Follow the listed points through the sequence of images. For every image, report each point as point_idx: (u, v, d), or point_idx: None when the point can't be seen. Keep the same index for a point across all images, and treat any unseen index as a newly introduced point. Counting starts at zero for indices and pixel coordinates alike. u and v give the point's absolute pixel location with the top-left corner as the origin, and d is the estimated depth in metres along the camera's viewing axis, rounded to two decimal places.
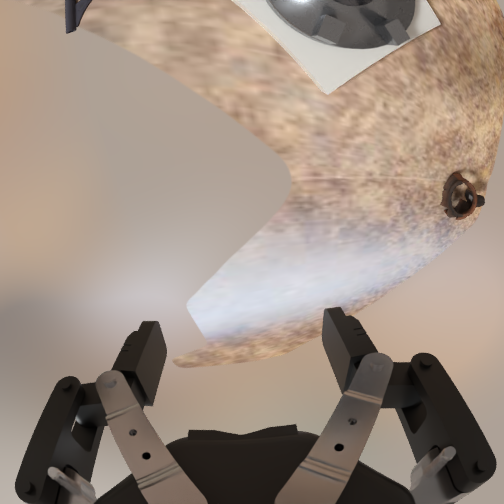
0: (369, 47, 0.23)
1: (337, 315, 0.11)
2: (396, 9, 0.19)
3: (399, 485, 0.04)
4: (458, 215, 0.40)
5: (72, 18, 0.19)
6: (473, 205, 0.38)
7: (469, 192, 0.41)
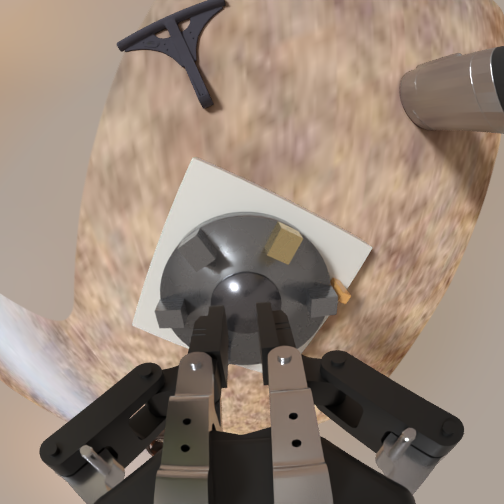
0: (188, 345, 0.33)
1: (263, 309, 0.12)
2: (249, 350, 0.34)
3: (399, 484, 0.04)
4: (148, 451, 0.43)
5: (133, 40, 0.23)
6: None
7: None
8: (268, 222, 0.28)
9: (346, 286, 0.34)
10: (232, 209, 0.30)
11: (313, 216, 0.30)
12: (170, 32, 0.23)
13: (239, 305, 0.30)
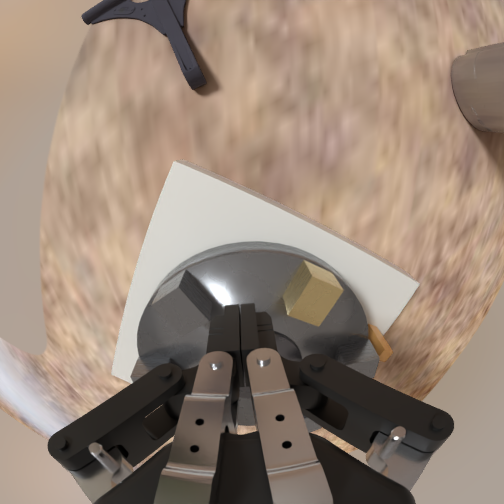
0: None
1: (247, 310, 0.12)
2: None
3: (400, 484, 0.04)
4: None
5: (102, 9, 0.14)
6: None
7: None
8: (290, 262, 0.18)
9: (383, 332, 0.24)
10: (234, 237, 0.20)
11: (350, 246, 0.21)
12: None
13: None
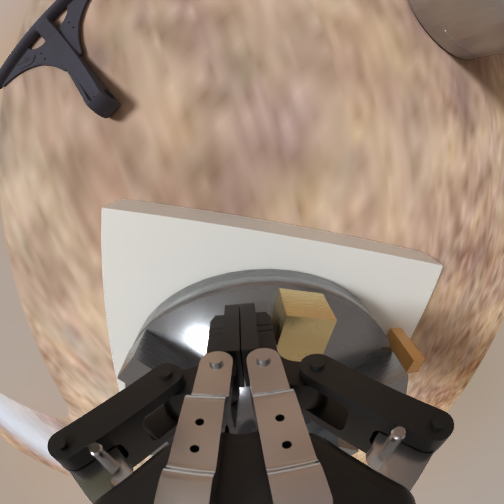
0: None
1: (247, 310, 0.12)
2: None
3: (399, 485, 0.04)
4: None
5: (7, 68, 0.11)
6: None
7: None
8: (262, 295, 0.14)
9: (411, 332, 0.19)
10: (195, 276, 0.16)
11: (343, 248, 0.16)
12: (43, 35, 0.11)
13: (252, 416, 0.17)
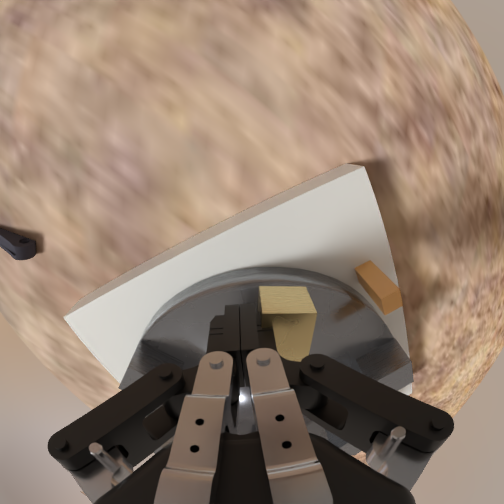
0: None
1: (247, 310, 0.12)
2: None
3: (399, 484, 0.04)
4: None
5: None
6: None
7: None
8: (243, 295, 0.14)
9: (387, 255, 0.16)
10: (140, 327, 0.18)
11: (223, 234, 0.16)
12: None
13: None
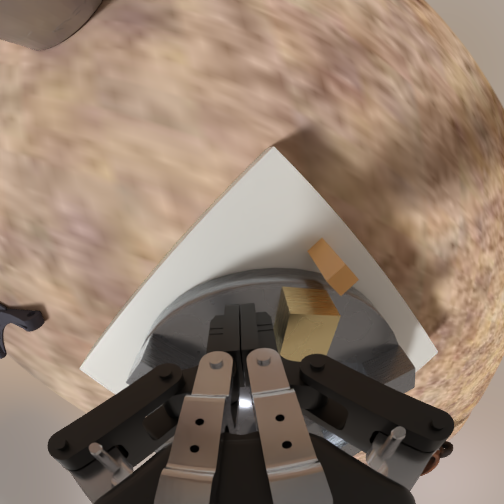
0: None
1: (247, 310, 0.12)
2: None
3: (399, 484, 0.04)
4: None
5: None
6: (433, 465, 0.29)
7: None
8: (265, 294, 0.14)
9: (341, 226, 0.16)
10: None
11: (167, 262, 0.16)
12: None
13: None
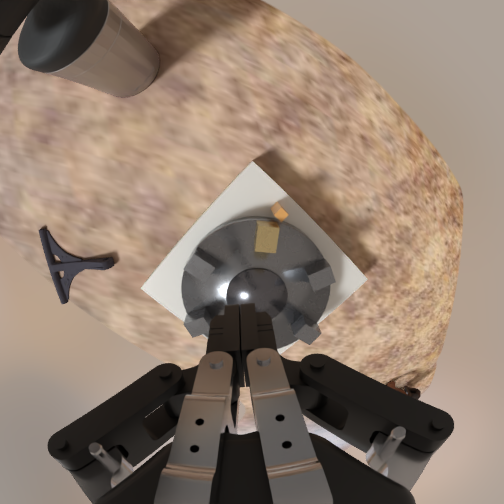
0: None
1: (247, 310, 0.12)
2: (275, 335, 0.38)
3: (399, 485, 0.04)
4: None
5: (62, 293, 0.41)
6: None
7: (406, 389, 0.51)
8: (249, 224, 0.32)
9: (286, 196, 0.34)
10: (182, 275, 0.37)
11: (204, 214, 0.34)
12: (60, 270, 0.39)
13: (251, 299, 0.35)
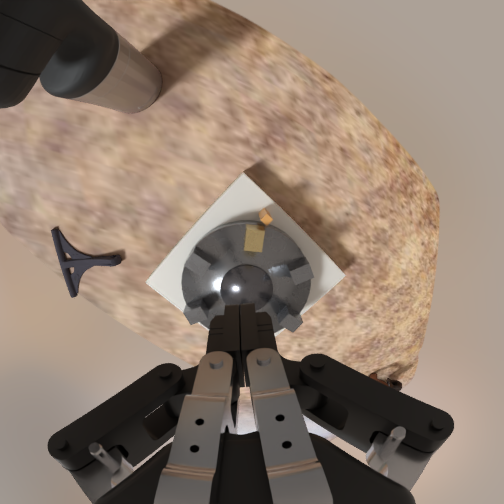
0: None
1: (247, 310, 0.12)
2: None
3: (399, 485, 0.04)
4: None
5: (72, 287, 0.46)
6: None
7: (388, 381, 0.58)
8: (240, 227, 0.38)
9: (272, 202, 0.40)
10: (182, 270, 0.43)
11: (201, 218, 0.40)
12: (70, 266, 0.44)
13: (242, 291, 0.41)
